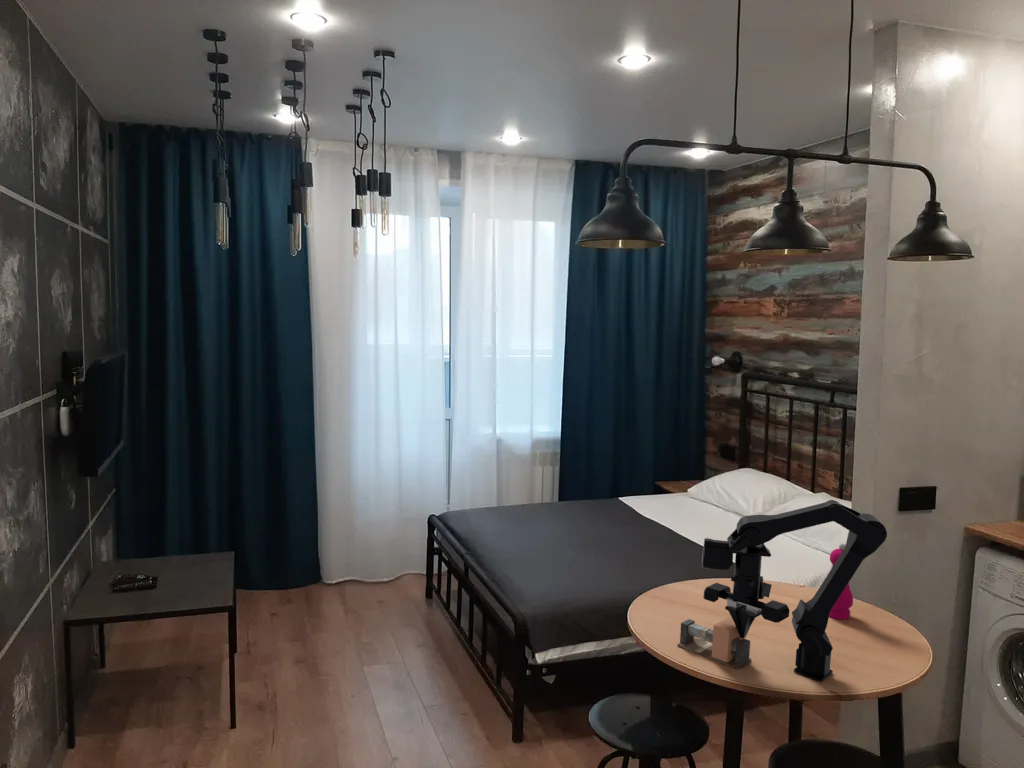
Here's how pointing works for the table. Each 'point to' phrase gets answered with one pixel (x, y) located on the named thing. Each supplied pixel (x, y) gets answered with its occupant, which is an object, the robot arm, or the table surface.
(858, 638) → the table surface
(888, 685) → the table surface
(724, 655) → the collar
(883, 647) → the table surface
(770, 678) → the table surface
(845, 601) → the pepper mill
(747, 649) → the rail
